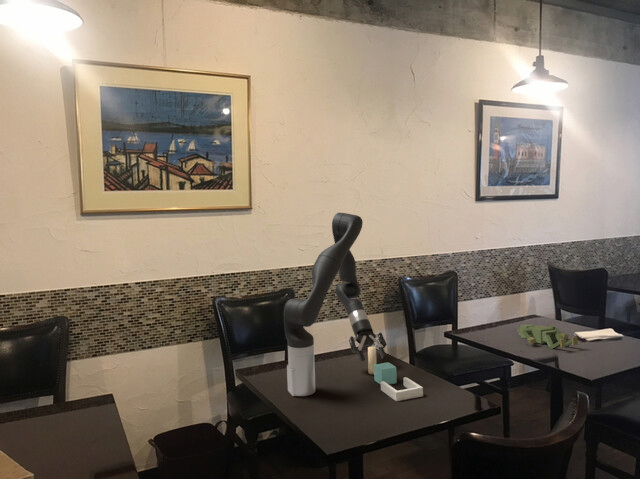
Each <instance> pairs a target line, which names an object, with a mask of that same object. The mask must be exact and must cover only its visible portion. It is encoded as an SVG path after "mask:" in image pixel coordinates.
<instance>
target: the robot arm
mask: <svg viewBox="0 0 640 479" xmlns="http://www.w3.org/2000/svg"><path fill="white" fill-rule="evenodd" d="M362 228H363V218H362V217H361V216H359V215H358V214H351V213H347V212H337V213H335V214H334V216H333V218H332V221H331V232H332V237H333V241H334V244H332V245H330V246H328V247H327V248H325V249H324V250H323V251H322V252H320V253H319V254H318V256H317V258H316V260H315V261H314V263H313V265H312V268H311V280H312V289H311V291H310V292H309V293H310V294H309V295H308V297H307V298H306V299H300V298H290V299H288V300H287V301H286V303H285V305H284V308H283V324H284V325H283V326H284V334H285V338H286V340H287V359H288V360H287V361H288V364H286V377H287V378H286V379H287V391H288V393H289V394H290V395H291V396H292V397H307V396H310V395H313V394H314V393H315V392H316V373H315V372H316V371H315V368H316V366H315V342H314V340H315V339H314V336H313V335H312V334H311V333H310V332H308V331H307V330H306V328H308V327H309V328H310V327H311V326H313V325H314V323H315V322H316V320H317V319H318V316H319V314H320V311H321V309H322V307H323V305H324V301H325V298H326V296H327V294H328V292H329V290H330V288H331V285H332V284H333V282H334V280H335V279H336V277H337V275H338V276H339V280H341V281H342V282H343V283H339V284H337V285H336V287H335V289H334V290H335V291H334V292H335V296H336V297H337V299H338V300H339V301H340V303H341V304H342V305H343V306H344V308H345V310H346V313H347V316H348V320H349V323H350V326H351V329H352V332H353V335H354V336H355V337H354V336H350V337H349V340H348V342H349V346H350V349H351V352H352V354H356V353H357V355H358V357H359V358H358V359H359V361H361V363H364V362H365V361H366V358H365V355H364V352H363V350H362V349H363V347H364V348H368V347H376V350H378V353H379V355H380V358H381V359H382V360H383V359H385V357H386V352H385V348H386V346H387V344H388V343H387V342H386V339H385V337H384V335H383V334H382V332H378V333H374V330H373V327H372V325H371V324H372V323H371V321H370V319H369V316H368V315H367V312H366V310H365V309H364V305H363V304H362V301H361V300H360V299H356V298H358V297H359V296H360V294H361V292H362V291H361V290H362V289H361V286H360V284H359V282H358V278H357V271H356V270H357V269H356V267H357V264H356V259H355V257H354V254H353V253H352V251H351V248H352V247H353V245H354V243H355V242H356V240H357V239H358V238H359V235H360V233H361V231H362ZM356 342H357V343H358V348H357V345H356Z"/></svg>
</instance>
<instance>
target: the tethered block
mask: <svg viewBox="0 0 640 479" xmlns="http://www.w3.org/2000/svg"><path fill="white" fill-rule="evenodd" d="M367 364H368V366H367V370H368V374H369V375H374V377H373V378H374V381H375V382H376V383H377V384H379V385H380V386H381V382H382V381H384V382H386V383H387V384H388V385H394V384H397V382H398V381H397V380H398V379H397V378H398V377H397V374H398V373H397V366H395V365H394V364H392V363H390V361H389V362H383V363H382V362H381V363H378V364H377V348H376V347H373V346H367Z"/></svg>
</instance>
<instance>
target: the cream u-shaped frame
mask: <svg viewBox="0 0 640 479" xmlns="http://www.w3.org/2000/svg"><path fill="white" fill-rule="evenodd" d="M403 387H405V389H400V390H397V389H395V387H393V386H392V385H391V384H389V385H388V384H387V383H386V382H384V381H382V382H381V385H380V391H381V392H383V393H385V395H387V396H388V397H389V398H391V399H393V401H395V402H400V401H406V400H410V399H416V398H420V397H424V387H423V386H421V385H420V384H418V383H416V382H415V381H413V380H412V379H410V378H408V377H407V376H406V377H403Z"/></svg>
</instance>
